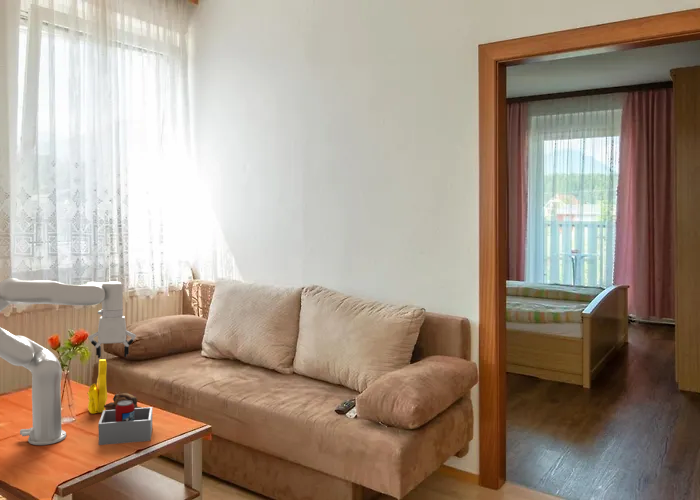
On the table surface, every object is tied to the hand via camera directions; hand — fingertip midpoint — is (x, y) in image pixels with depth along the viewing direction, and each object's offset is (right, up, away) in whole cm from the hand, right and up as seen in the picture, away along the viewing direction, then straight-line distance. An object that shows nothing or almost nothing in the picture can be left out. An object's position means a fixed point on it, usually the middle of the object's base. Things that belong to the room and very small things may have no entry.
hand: (112, 356), depth 230 cm
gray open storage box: (+8, -29, -6) cm, 31 cm away
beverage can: (+7, -28, -6) cm, 30 cm away
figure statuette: (-14, -27, +18) cm, 35 cm away
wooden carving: (0, -28, +11) cm, 30 cm away
